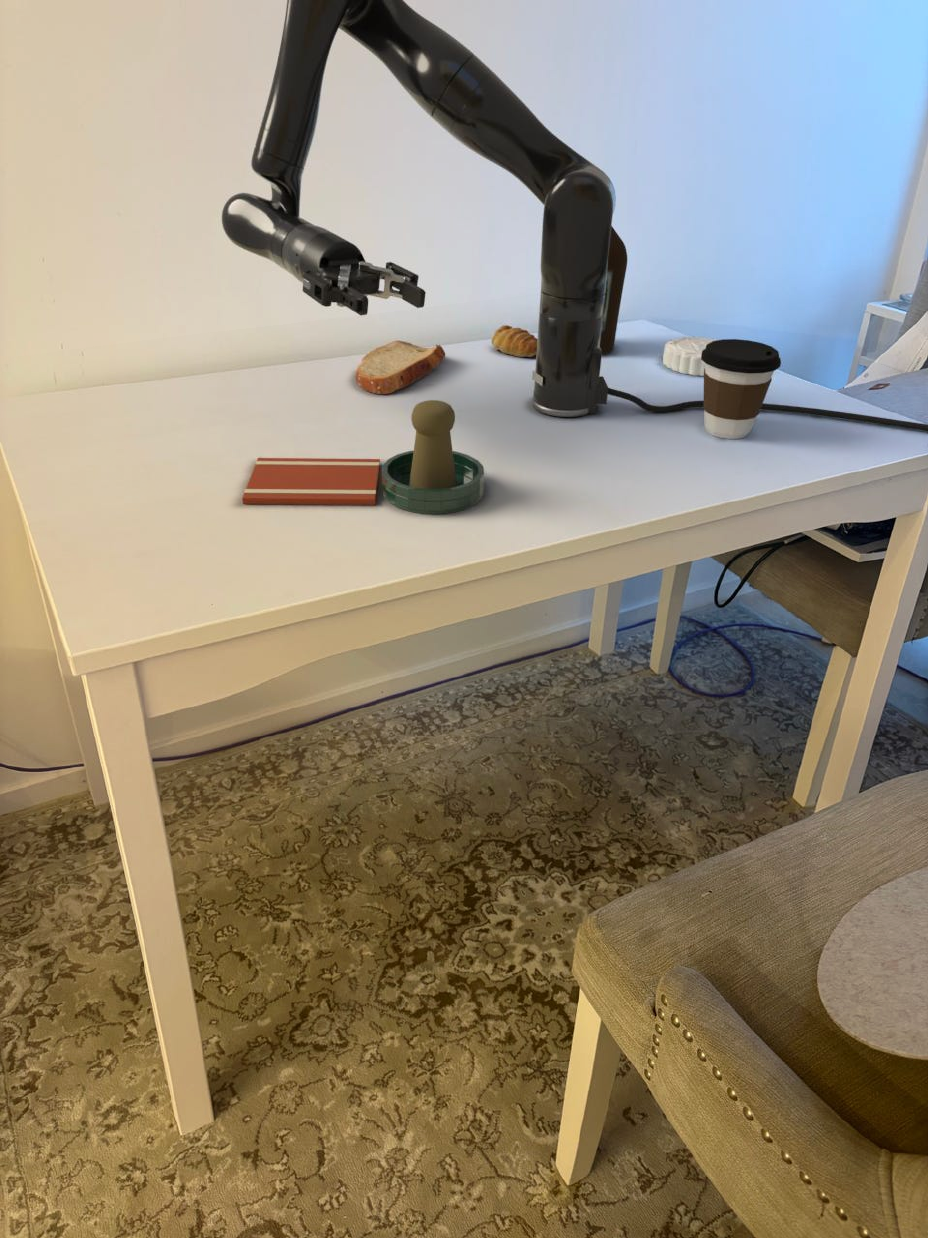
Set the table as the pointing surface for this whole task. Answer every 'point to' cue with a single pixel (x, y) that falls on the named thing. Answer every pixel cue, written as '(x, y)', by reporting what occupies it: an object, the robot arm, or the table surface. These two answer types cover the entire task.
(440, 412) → the cork
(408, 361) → the slice of bread
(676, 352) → the mooncake
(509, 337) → the pastry
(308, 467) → the towel
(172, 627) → the table surface
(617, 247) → the olive oil
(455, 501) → the dish
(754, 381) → the coffee cup
